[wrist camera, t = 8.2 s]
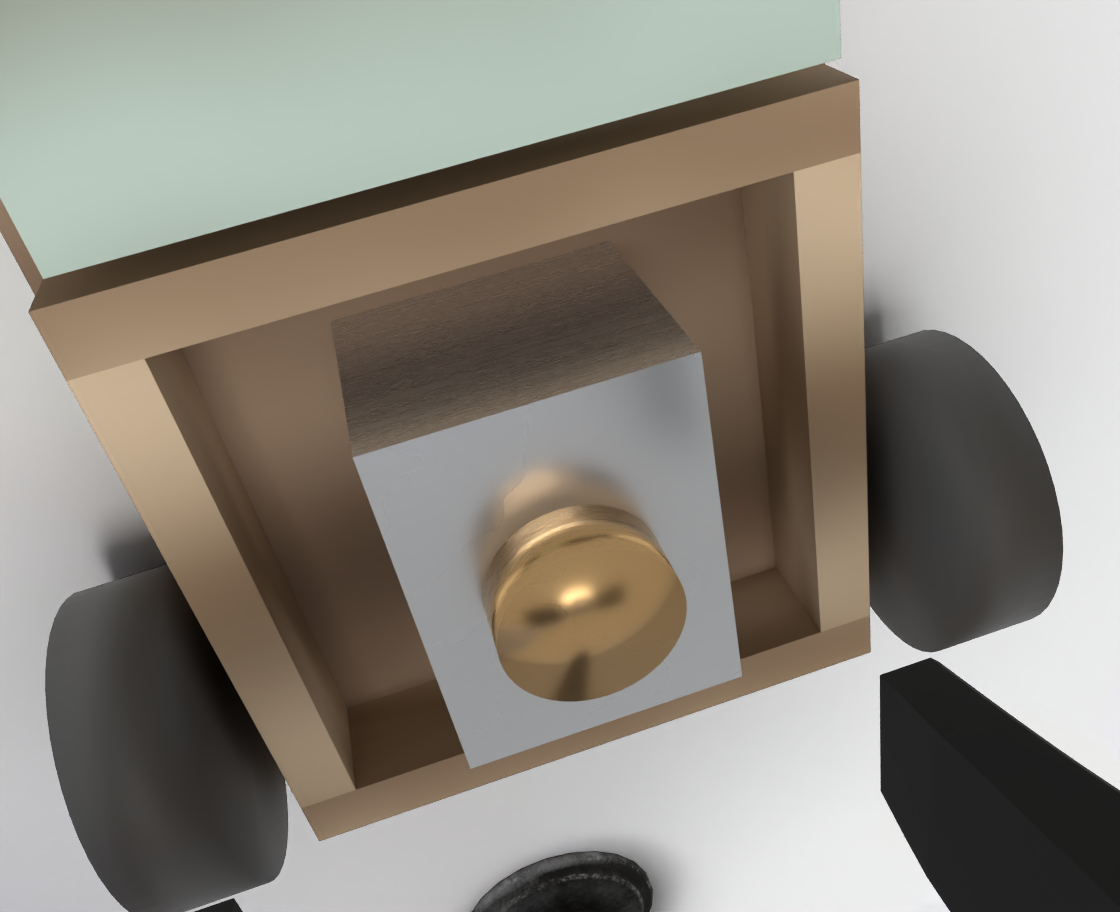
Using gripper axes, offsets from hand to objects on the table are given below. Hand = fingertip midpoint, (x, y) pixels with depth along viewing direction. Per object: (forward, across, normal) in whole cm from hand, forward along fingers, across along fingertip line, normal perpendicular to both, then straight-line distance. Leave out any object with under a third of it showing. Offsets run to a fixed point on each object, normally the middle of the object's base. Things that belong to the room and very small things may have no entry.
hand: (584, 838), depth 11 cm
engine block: (+8, -1, 0) cm, 8 cm away
